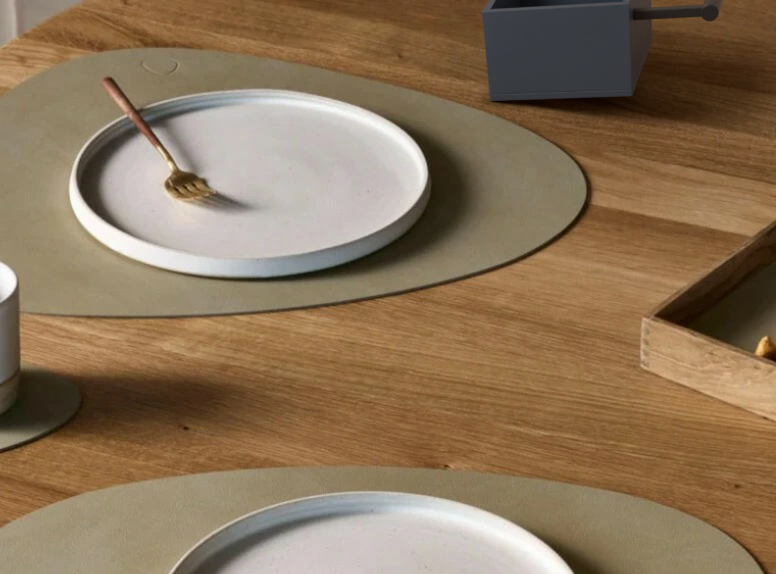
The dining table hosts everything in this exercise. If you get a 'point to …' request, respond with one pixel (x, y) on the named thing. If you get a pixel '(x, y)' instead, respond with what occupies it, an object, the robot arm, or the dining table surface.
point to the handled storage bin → (572, 45)
